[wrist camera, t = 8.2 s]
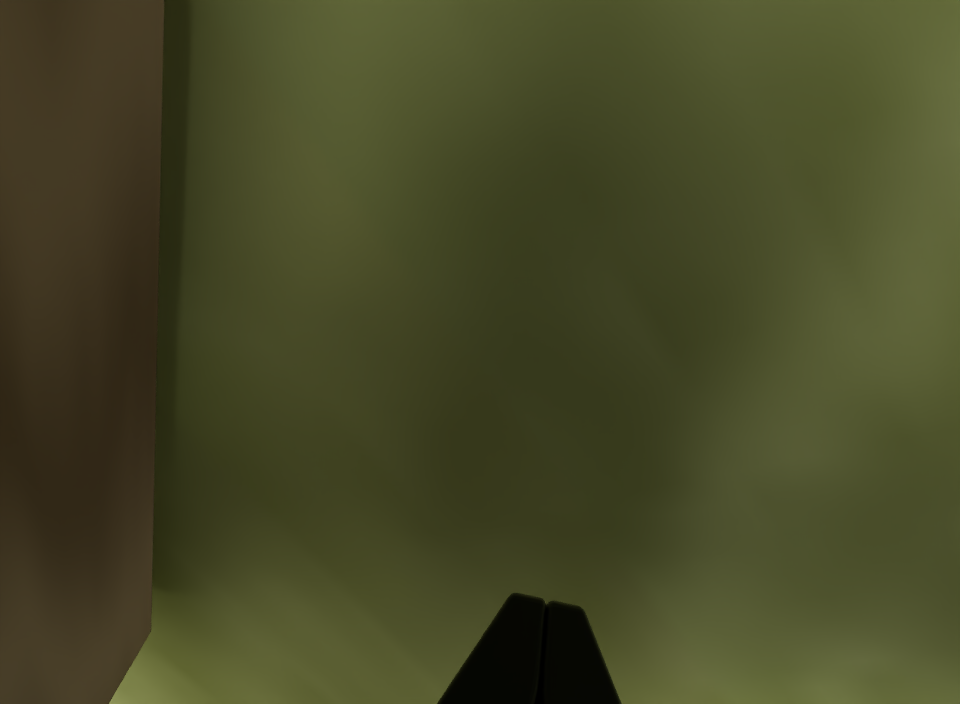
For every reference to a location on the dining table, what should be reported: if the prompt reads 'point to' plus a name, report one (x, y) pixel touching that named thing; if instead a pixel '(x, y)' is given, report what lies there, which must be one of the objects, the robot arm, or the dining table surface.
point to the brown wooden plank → (77, 341)
